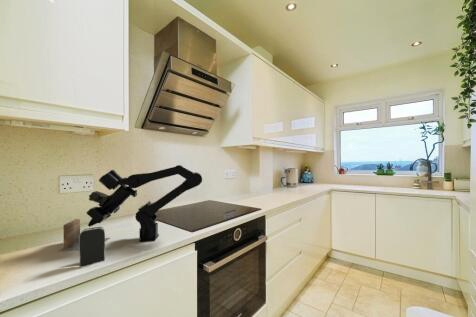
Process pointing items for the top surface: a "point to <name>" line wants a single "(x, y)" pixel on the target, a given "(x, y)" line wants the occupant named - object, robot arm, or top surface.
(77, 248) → the mat
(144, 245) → the top surface
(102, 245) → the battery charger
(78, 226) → the board
